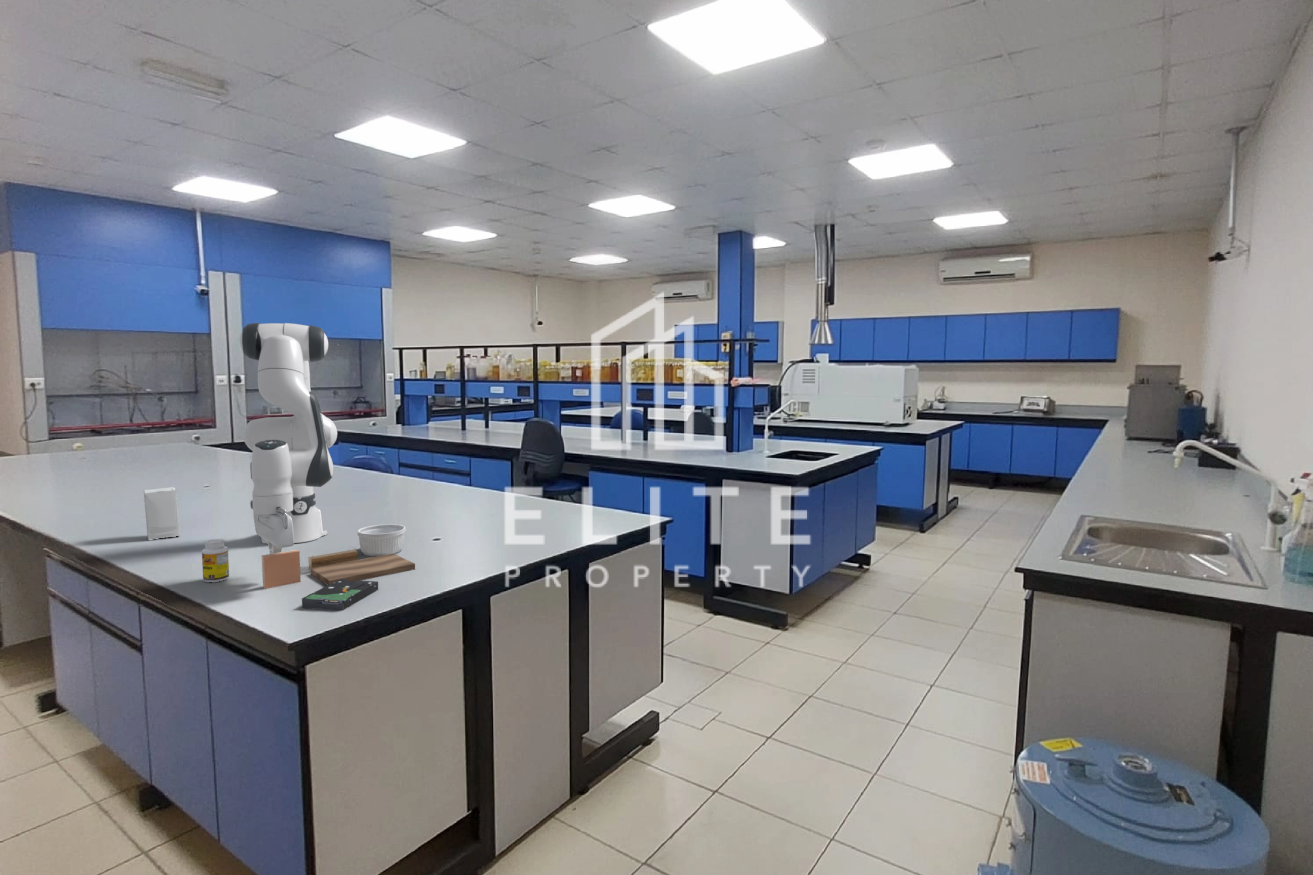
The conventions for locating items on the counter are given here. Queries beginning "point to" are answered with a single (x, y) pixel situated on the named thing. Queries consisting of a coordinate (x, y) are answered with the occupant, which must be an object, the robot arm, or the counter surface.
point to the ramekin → (381, 539)
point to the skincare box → (161, 513)
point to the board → (362, 568)
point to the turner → (329, 560)
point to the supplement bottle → (215, 561)
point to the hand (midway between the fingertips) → (275, 558)
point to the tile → (281, 568)
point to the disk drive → (340, 594)
